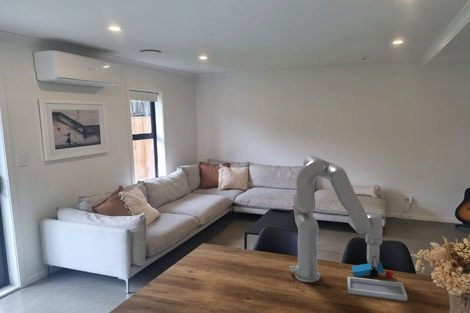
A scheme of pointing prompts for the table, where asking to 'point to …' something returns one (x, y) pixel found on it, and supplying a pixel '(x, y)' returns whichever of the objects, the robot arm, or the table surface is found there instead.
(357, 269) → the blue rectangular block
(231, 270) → the table surface
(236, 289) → the table surface
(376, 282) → the tray
